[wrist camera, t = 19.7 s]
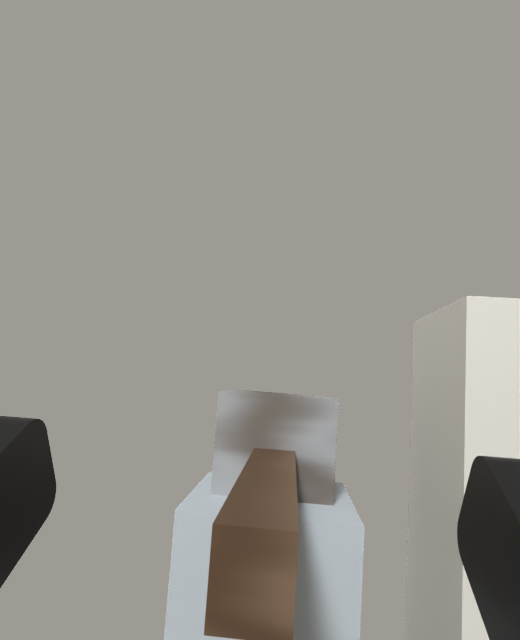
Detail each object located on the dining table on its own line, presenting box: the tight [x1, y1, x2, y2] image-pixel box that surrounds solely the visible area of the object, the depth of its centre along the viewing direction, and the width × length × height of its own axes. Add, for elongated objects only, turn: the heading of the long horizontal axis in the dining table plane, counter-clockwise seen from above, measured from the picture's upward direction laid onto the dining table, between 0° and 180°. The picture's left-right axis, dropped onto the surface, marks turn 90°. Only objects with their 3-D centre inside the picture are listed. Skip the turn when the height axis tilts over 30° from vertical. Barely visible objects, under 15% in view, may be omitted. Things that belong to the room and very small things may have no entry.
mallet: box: [204, 390, 339, 640], centre depth 20 cm, size 6×18×5 cm, turn 176°
